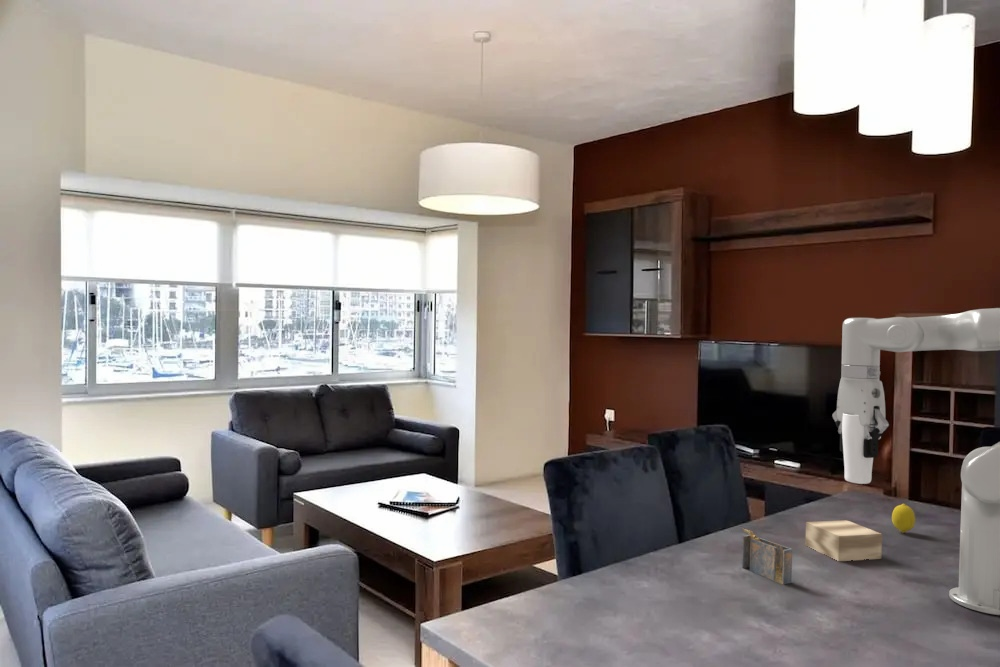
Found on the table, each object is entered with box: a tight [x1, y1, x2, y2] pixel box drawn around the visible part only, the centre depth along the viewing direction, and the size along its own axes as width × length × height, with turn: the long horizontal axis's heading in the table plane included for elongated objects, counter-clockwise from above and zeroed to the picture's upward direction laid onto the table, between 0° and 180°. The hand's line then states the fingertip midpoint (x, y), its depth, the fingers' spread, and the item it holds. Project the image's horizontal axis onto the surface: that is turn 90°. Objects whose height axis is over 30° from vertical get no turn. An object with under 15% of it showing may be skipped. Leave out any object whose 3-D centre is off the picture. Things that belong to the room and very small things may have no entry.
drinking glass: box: [842, 413, 874, 485], centre depth 155 cm, size 7×7×15 cm
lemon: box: [891, 503, 916, 534], centre depth 191 cm, size 6×6×8 cm
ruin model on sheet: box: [741, 527, 793, 585], centre depth 156 cm, size 11×3×10 cm, turn 29°
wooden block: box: [804, 519, 883, 562], centre depth 173 cm, size 12×12×6 cm
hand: (858, 453), depth 155 cm, fingers closed on drinking glass, 6 cm apart
